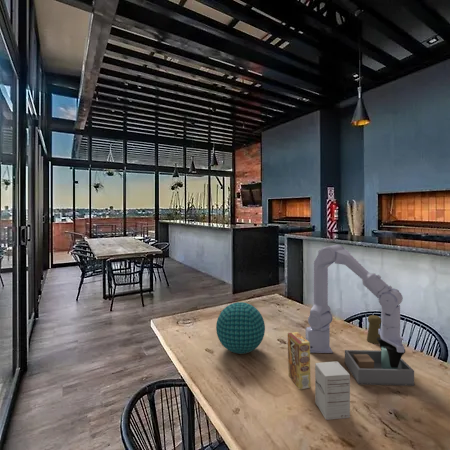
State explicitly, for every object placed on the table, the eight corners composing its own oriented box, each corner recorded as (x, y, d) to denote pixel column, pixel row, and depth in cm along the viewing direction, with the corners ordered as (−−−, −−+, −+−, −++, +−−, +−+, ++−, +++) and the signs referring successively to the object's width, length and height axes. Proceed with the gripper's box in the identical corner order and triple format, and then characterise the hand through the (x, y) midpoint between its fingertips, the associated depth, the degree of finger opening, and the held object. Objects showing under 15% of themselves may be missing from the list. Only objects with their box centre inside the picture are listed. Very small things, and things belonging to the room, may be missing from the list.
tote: (358, 384, 97) (358, 369, 97) (344, 362, 110) (344, 350, 110) (414, 385, 96) (414, 370, 95) (393, 363, 109) (393, 350, 109)
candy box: (311, 388, 95) (311, 342, 95) (299, 390, 94) (298, 343, 94) (298, 373, 104) (298, 331, 103) (287, 375, 103) (287, 332, 102)
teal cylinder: (399, 373, 100) (400, 353, 99) (383, 371, 101) (383, 352, 100) (394, 365, 105) (394, 346, 104) (379, 364, 106) (379, 345, 105)
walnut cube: (374, 375, 101) (374, 361, 100) (359, 375, 101) (359, 361, 101) (367, 367, 106) (367, 354, 105) (353, 367, 106) (353, 354, 106)
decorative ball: (206, 352, 121) (205, 304, 120) (238, 336, 136) (237, 293, 135) (244, 369, 108) (243, 315, 106) (274, 349, 122) (274, 302, 121)
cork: (384, 344, 125) (384, 319, 124) (368, 343, 126) (369, 318, 125) (379, 338, 131) (379, 314, 130) (365, 337, 132) (365, 313, 131)
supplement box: (314, 403, 88) (314, 362, 87) (338, 401, 89) (338, 360, 88) (325, 420, 81) (324, 376, 80) (350, 418, 81) (350, 374, 81)
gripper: (414, 333, 94) (414, 374, 95) (392, 317, 109) (392, 352, 109) (391, 333, 95) (391, 374, 96) (372, 317, 109) (372, 352, 110)
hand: (390, 362), depth 103 cm, fingers closed on teal cylinder, 5 cm apart
